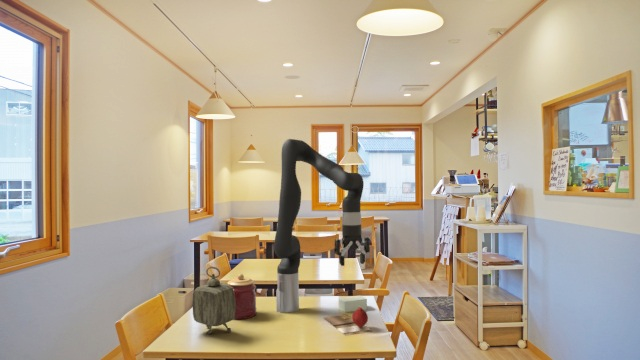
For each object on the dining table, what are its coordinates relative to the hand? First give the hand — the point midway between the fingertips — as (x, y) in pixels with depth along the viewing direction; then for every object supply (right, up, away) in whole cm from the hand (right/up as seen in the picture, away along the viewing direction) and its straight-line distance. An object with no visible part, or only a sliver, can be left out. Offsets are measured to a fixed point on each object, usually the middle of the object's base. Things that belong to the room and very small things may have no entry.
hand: (352, 264), depth 171 cm
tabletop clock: (-53, -25, -5) cm, 59 cm away
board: (-2, -24, -1) cm, 24 cm away
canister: (-47, -25, +16) cm, 55 cm away
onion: (+3, -23, -6) cm, 24 cm away
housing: (+2, -24, +19) cm, 31 cm away
